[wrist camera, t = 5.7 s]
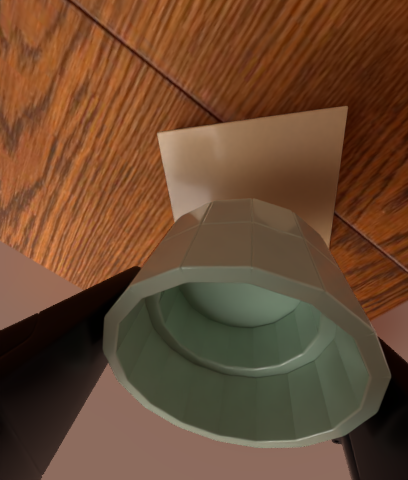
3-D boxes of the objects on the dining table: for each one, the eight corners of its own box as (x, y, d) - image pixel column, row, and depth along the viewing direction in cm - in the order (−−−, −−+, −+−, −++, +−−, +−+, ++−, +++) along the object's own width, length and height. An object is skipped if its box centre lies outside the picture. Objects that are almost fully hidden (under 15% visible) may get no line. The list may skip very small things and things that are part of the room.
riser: (315, 252, 18) (325, 274, 16) (193, 253, 20) (184, 273, 18) (330, 107, 14) (348, 105, 11) (172, 129, 16) (156, 132, 13)
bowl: (319, 334, 10) (358, 465, 7) (176, 326, 12) (139, 428, 8) (339, 186, 7) (436, 266, 3) (144, 200, 9) (60, 266, 5)
